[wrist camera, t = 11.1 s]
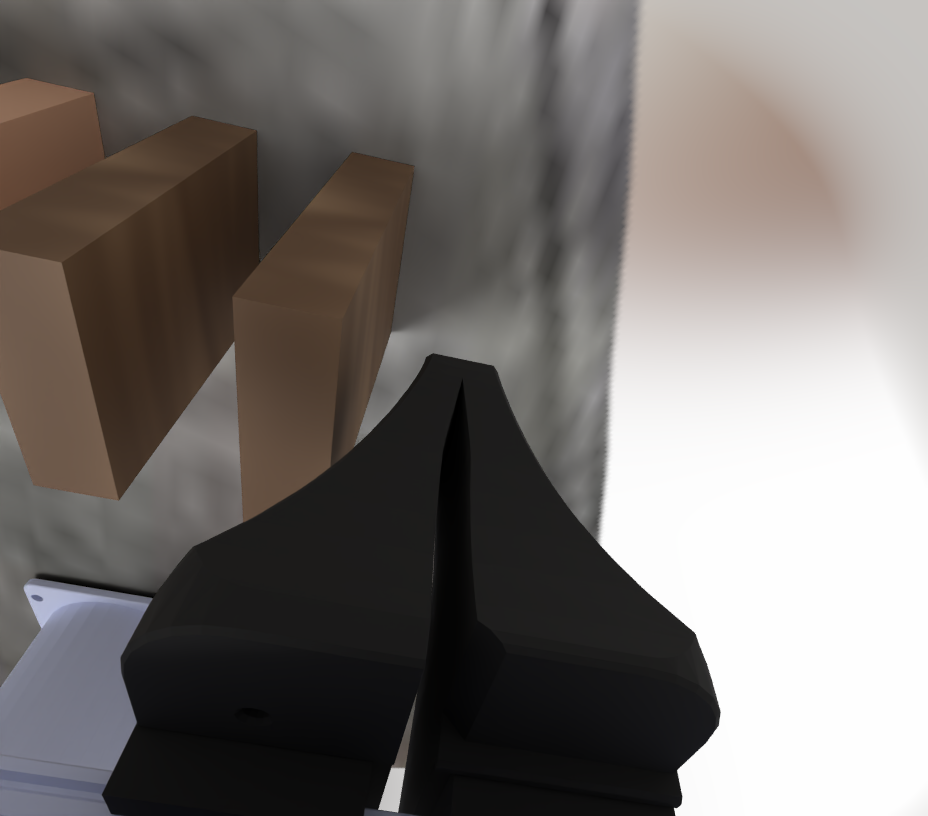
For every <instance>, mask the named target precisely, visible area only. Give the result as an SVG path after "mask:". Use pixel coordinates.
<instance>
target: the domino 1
mask: <svg viewBox="0 0 928 816" xmlns="http://www.w3.org/2000/svg"><path fill="white" fill-rule="evenodd" d="M104 159H105V155H104V150H103V144H102V138H101V132H100V126H99V121H98V115H97V109H96V103H95V97H94V93H91V92H87V91H82V90H78V89H73V88H69V87H64V86H60V85H56V84H51V83H47V82H42V81H38V80H33V79H29V78H24V79H20V80H16V81H12V82H8V83H4V84H0V210H2V209H4V208H6V207H8V206H10V205H12V204H15V203H17V202H19V201H21V200H23V199H25V198H27V197H29V196H31V195H33V194H35V193H37V192H39V191H41V190H43V189H45V188H47V187H49V186H51V185H53V184H55V183H57V182H59V181H61V180H63V179H65V178H67V177H69V176H71V175H73V174H75V173H77V172H79V171H81V170H83V169H85V168H87V167H89V166H91V165H93V164H95V163H97V162H100V161H102V160H104Z"/></svg>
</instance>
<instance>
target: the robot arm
mask: <svg viewBox="0 0 928 816" xmlns="http://www.w3.org/2000/svg"><path fill="white" fill-rule="evenodd" d="M434 541H435V549H434ZM433 554H434V572H433ZM432 574H433V584H432ZM24 591H25V593H26V595H27V597H28V600H29V602H30V604H31V606H32V609H33V611H34V613H35V615H36V617H37V620H38V622H39V624H40V626H41V630H40V632H39V633H38V635H37V636H36V638H35V639H34V640H33V642H32V643H31V645H30V646H29V648H28V649H27V650H26V652H25V653H24V655H23V656H22V658H21V659H20V660H19V662H18V663H17V665H16V666H15V668H14V669H13V670H12V672H11V673H10V675H9V676H8V678H7V679H6V680H5V682H4V683H3V685H2V686H1V688H0V816H675V811H674V808H678V807H679V806H680V805H681V803H682V793H681V788H680V783H679V778H678V773H677V770H678V769H679V768H680V767H681V766H682V765H683V764H684V763H685V762H686V761H687V760H688V759H689V758H690V757H691V756H692V755H694V754H695V752H697V751H698V750H699V749H700V748H701V747H702V746H703V745H704V744H705V743H706V742H707V741H708V739H709V738H710V737H711V735H712V734H713V733H714V731H715V730H716V729H717V727H718V726H719V719H720V708H719V705H718V701H717V697H716V694H715V690H714V687H713V683H712V679H711V676H710V673H709V670H708V666H707V663H706V661H705V658H704V656H703V653H702V651H701V648H700V646H699V643H698V640H697V637H696V634H695V633H694V632H693V631H692V630H691V629H690V628H688V627H687V626H686V625H685V624H684V623H682V622H681V621H680V620H679V619H678V618H676V617H675V616H674V615H673V614H672V613H671V612H669V611H668V610H667V609H666V608H665V607H664V606H663V605H661V604H660V603H659V602H658V601H657V600H656V599H654V598H653V597H652V596H651V595H650V594H648V593H647V592H646V591H645V590H644V589H643V588H642V587H641V586H639V584H637V582H636V581H635V580H634V579H633V578H632V577H630V576H629V575H628V574H627V573H626V572H625V571H624V570H623V569H622V568H621V567H620V566H619V565H618V564H617V563H616V562H615V561H614V560H613V559H612V558H611V557H610V555H608V553H607V552H606V551H605V550H604V549H603V548H602V547H601V546H600V545H599V544H598V542H597V541H596V540H595V539H594V538H593V537H592V535H591V534H590V533H589V532H588V531H587V530H586V529H585V527H584V526H583V525H582V524H581V523H580V522H579V520H578V519H577V518H576V517H575V515H574V514H573V513H572V512H571V510H570V509H569V508H568V507H567V505H566V504H565V502H564V501H563V500H562V498H561V497H560V495H559V494H558V492H557V491H556V490H555V488H554V487H553V485H552V484H551V482H550V481H549V479H548V477H547V476H546V474H545V473H544V471H543V469H542V468H541V466H540V464H539V462H538V461H537V459H536V457H535V456H534V454H533V452H532V450H531V448H530V447H529V445H528V443H527V441H526V439H525V437H524V435H523V433H522V431H521V429H520V427H519V425H518V423H517V421H516V418H515V416H514V414H513V412H512V410H511V407H510V405H509V402H508V400H507V398H506V395H505V392H504V390H503V387H502V384H501V382H500V379H499V376H498V372H497V371H496V369H495V367H494V366H492V365H487V364H482V363H477V362H472V361H467V360H462V359H458V358H453V357H448V356H443V355H438V354H431V355H429V356H427V357H426V359H425V362H424V364H423V366H422V368H421V370H420V372H419V373H418V375H417V377H416V378H415V380H414V381H413V383H412V384H411V385H410V387H409V388H408V390H407V391H406V392H405V393H404V395H403V396H402V397H401V398H400V400H399V401H398V402H397V403H396V405H395V406H394V407H393V408H392V410H391V411H390V412H389V413H388V414H387V415H386V416H385V417H384V418H383V419H382V420H381V421H380V422H379V424H378V425H377V426H376V427H375V428H374V429H373V430H372V431H371V432H370V433H369V434H368V435H367V436H366V437H365V438H364V439H363V440H362V441H361V442H360V443H358V444H357V445H356V446H355V447H354V448H353V449H352V450H351V451H349V452H348V453H347V454H346V455H345V456H344V457H342V458H341V459H340V460H339V461H338V462H336V463H335V464H334V465H332V466H331V467H330V468H328V469H327V470H326V471H324V472H323V473H322V474H321V475H319V476H318V477H317V478H315V479H314V480H312V481H311V482H310V483H308V484H307V485H305V486H304V487H302V488H301V489H299V490H298V491H296V492H295V493H293V494H291V495H290V496H288V497H286V498H285V499H283V500H281V501H280V502H278V503H276V504H275V505H273V506H272V507H270V508H268V509H267V510H265V511H263V512H262V513H260V514H258V515H256V516H255V517H253V518H251V519H249V520H247V521H245V522H243V523H241V524H239V525H237V526H235V527H233V528H231V529H229V530H227V531H225V532H223V533H221V534H219V535H217V536H215V537H213V538H211V539H209V540H207V541H205V542H203V543H200V544H198V545H196V546H194V547H192V549H191V550H190V551H189V552H188V553H187V554H186V555H185V557H184V558H183V559H182V560H181V562H180V563H179V564H178V565H177V567H176V568H175V569H174V570H173V572H172V573H171V574H170V576H169V577H168V578H167V580H166V581H165V582H164V584H163V585H162V586H161V588H160V589H159V590H158V592H157V593H156V595H155V596H154V598H149V597H144V596H138V595H132V594H126V593H120V592H114V591H108V590H102V589H96V588H90V587H84V586H78V585H72V584H66V583H60V582H54V581H48V580H43V579H30V580H29V581H28V582H27V583H26V584H25V586H24ZM431 594H432V596H431ZM417 690H418V691H417ZM416 693H417V698H416V704H415V710H414V717H413V723H412V730H411V736H410V743H409V749H408V755H407V761H406V768H405V774H404V780H403V787H402V792H401V799H400V805H399V811H398V813H397V812H390V811H383V810H378V808H379V805H380V802H381V798H382V795H383V792H384V789H385V786H386V782H387V779H388V776H389V773H390V770H391V766H392V765H394V763H395V760H396V757H397V753H398V750H399V747H400V744H401V741H402V738H403V734H404V731H405V728H406V725H407V722H408V719H409V715H410V712H411V709H412V706H413V703H414V700H415V696H416Z"/></svg>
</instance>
